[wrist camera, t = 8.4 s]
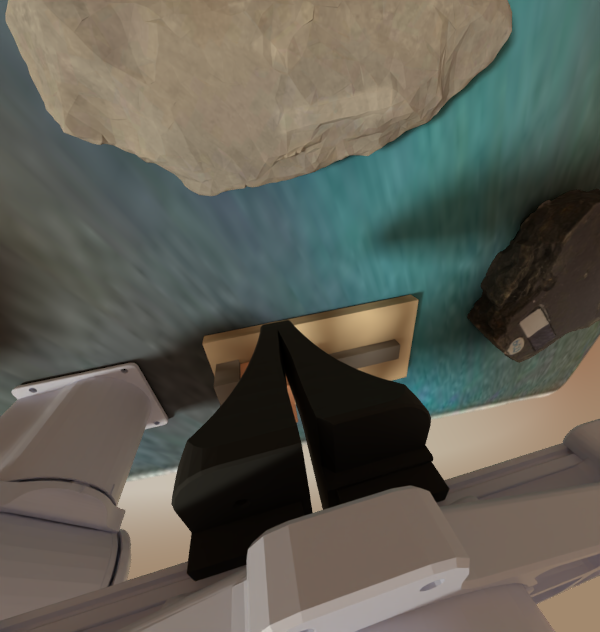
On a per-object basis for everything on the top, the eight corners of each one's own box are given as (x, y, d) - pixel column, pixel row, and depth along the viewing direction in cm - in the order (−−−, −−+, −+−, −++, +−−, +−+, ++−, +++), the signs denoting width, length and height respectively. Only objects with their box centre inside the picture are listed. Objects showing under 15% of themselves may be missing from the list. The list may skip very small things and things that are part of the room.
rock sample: (504, 190, 22) (568, 193, 17) (637, 184, 24) (720, 187, 20) (448, 350, 30) (481, 379, 26) (550, 333, 33) (596, 356, 29)
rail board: (231, 410, 27) (230, 445, 24) (204, 336, 22) (197, 365, 19) (400, 369, 30) (421, 395, 26) (411, 294, 25) (438, 314, 21)
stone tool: (-195, -265, 6) (619, -209, 9) (-16, -84, 11) (498, -86, 14) (68, 217, 12) (517, 156, 15) (114, 207, 16) (455, 161, 19)
